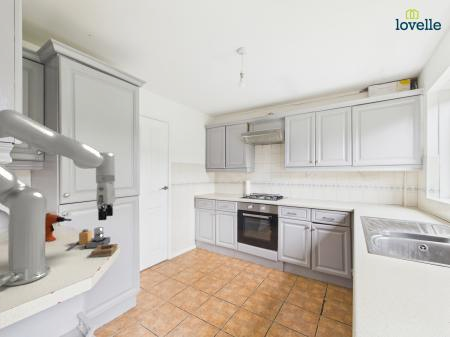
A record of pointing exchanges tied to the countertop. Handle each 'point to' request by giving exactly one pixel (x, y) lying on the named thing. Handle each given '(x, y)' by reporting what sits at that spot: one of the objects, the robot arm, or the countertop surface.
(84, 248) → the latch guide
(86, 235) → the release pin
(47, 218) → the toy drill
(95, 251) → the wooden square tray
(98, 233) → the silver metal cylinder
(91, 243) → the socket
